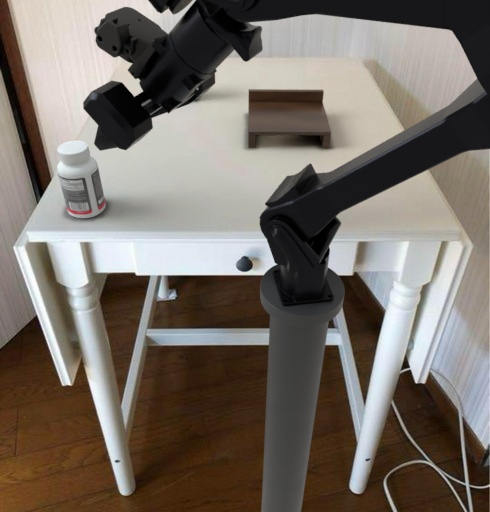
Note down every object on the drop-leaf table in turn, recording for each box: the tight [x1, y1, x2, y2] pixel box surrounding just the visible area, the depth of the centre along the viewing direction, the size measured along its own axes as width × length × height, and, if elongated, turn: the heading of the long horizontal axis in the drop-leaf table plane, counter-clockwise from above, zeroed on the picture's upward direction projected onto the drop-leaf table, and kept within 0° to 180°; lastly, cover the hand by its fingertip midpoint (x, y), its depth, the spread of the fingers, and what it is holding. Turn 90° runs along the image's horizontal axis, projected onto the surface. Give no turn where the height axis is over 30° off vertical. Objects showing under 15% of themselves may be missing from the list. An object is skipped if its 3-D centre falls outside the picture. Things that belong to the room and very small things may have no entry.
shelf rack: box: [247, 88, 332, 149], centre depth 93 cm, size 14×14×5 cm
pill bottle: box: [56, 140, 107, 219], centre depth 71 cm, size 5×5×10 cm
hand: (121, 131), depth 63 cm, fingers open, 9 cm apart
